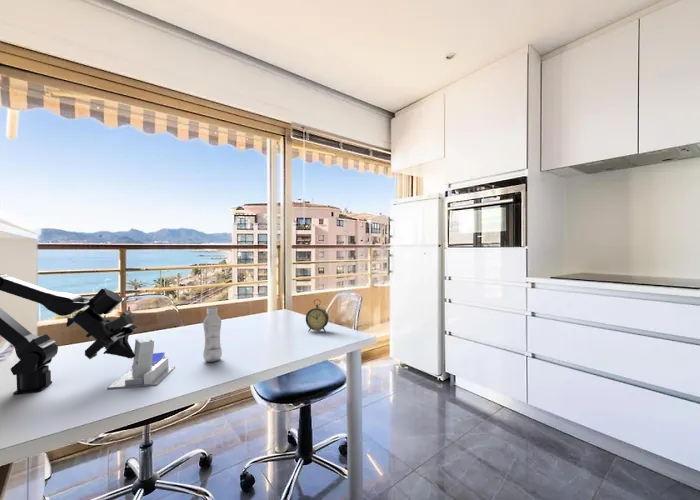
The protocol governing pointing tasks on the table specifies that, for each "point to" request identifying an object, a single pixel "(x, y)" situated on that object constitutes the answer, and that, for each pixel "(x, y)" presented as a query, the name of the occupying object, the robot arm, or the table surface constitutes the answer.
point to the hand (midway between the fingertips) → (133, 357)
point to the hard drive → (156, 358)
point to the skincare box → (142, 357)
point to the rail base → (129, 375)
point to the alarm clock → (317, 318)
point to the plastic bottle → (212, 335)
